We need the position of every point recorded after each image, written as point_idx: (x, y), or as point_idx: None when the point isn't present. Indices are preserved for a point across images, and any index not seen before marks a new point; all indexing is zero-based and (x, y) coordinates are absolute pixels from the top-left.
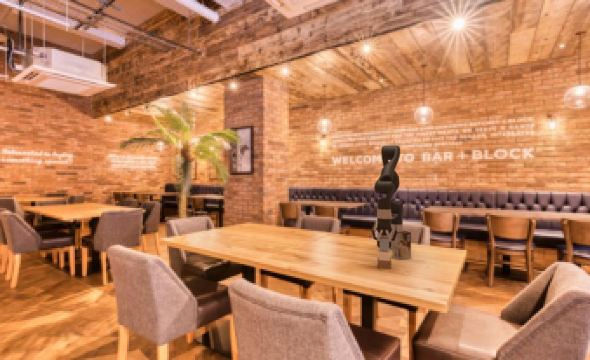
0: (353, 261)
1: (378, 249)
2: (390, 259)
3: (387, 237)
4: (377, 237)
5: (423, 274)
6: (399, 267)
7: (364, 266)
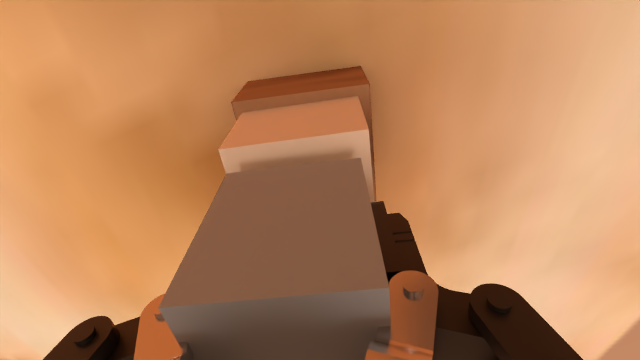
0: (25, 78)
1: (223, 160)
2: (370, 150)
3: (359, 304)
4: (143, 355)
5: (580, 198)
6: (436, 102)
7: (172, 178)
